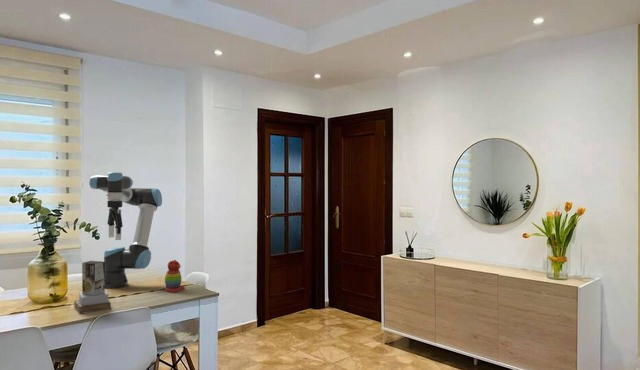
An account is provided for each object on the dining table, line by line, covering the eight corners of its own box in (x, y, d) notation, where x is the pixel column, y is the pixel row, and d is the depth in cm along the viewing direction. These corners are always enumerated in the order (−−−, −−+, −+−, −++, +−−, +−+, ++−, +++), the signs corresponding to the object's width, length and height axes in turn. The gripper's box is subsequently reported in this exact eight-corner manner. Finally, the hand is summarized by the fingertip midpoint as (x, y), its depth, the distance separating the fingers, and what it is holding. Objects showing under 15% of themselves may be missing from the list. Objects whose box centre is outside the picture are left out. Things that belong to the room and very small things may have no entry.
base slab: (74, 308, 228) (74, 300, 228) (103, 303, 237) (103, 296, 237) (79, 315, 217) (79, 306, 217) (110, 310, 226) (110, 302, 226)
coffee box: (105, 292, 229) (105, 261, 228) (94, 295, 223) (94, 263, 222) (92, 291, 232) (92, 260, 232) (81, 293, 226) (81, 262, 226)
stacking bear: (176, 293, 258) (177, 262, 258) (160, 292, 260) (161, 261, 260) (186, 288, 268) (186, 259, 268) (170, 287, 270) (170, 258, 270)
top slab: (79, 300, 229) (79, 292, 229) (104, 297, 236) (105, 289, 235) (81, 305, 219) (81, 297, 219) (108, 302, 225) (108, 294, 225)
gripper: (101, 199, 254) (101, 236, 254) (114, 201, 234) (113, 241, 235) (115, 199, 258) (115, 235, 259) (128, 201, 239) (128, 240, 239)
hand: (114, 238), depth 247 cm, fingers open, 13 cm apart
